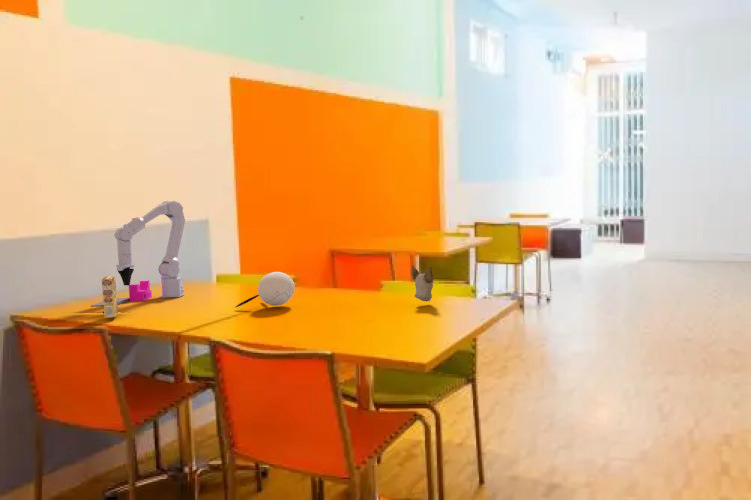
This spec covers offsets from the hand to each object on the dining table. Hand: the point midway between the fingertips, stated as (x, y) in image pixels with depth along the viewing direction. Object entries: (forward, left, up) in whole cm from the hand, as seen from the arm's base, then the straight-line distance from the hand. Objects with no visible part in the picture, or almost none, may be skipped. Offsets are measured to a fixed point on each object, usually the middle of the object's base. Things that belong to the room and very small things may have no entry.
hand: (126, 285), depth 317 cm
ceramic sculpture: (-131, +21, -8) cm, 133 cm away
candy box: (-7, +35, -8) cm, 37 cm away
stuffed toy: (-78, +23, +4) cm, 81 cm away
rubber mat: (+7, 0, -8) cm, 10 cm away
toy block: (-3, -10, -8) cm, 13 cm away
